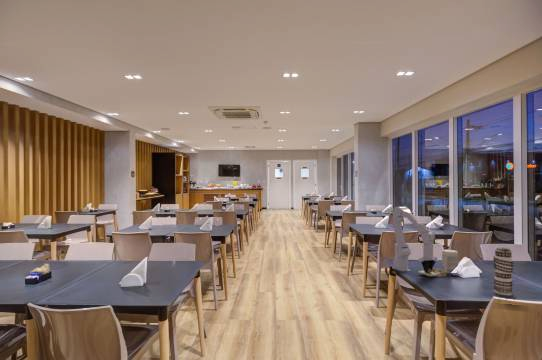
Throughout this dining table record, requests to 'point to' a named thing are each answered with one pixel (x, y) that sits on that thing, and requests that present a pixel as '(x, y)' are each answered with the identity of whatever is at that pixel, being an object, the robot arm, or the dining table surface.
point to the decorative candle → (503, 271)
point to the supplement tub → (449, 260)
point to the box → (439, 273)
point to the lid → (428, 273)
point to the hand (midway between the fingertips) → (427, 271)
